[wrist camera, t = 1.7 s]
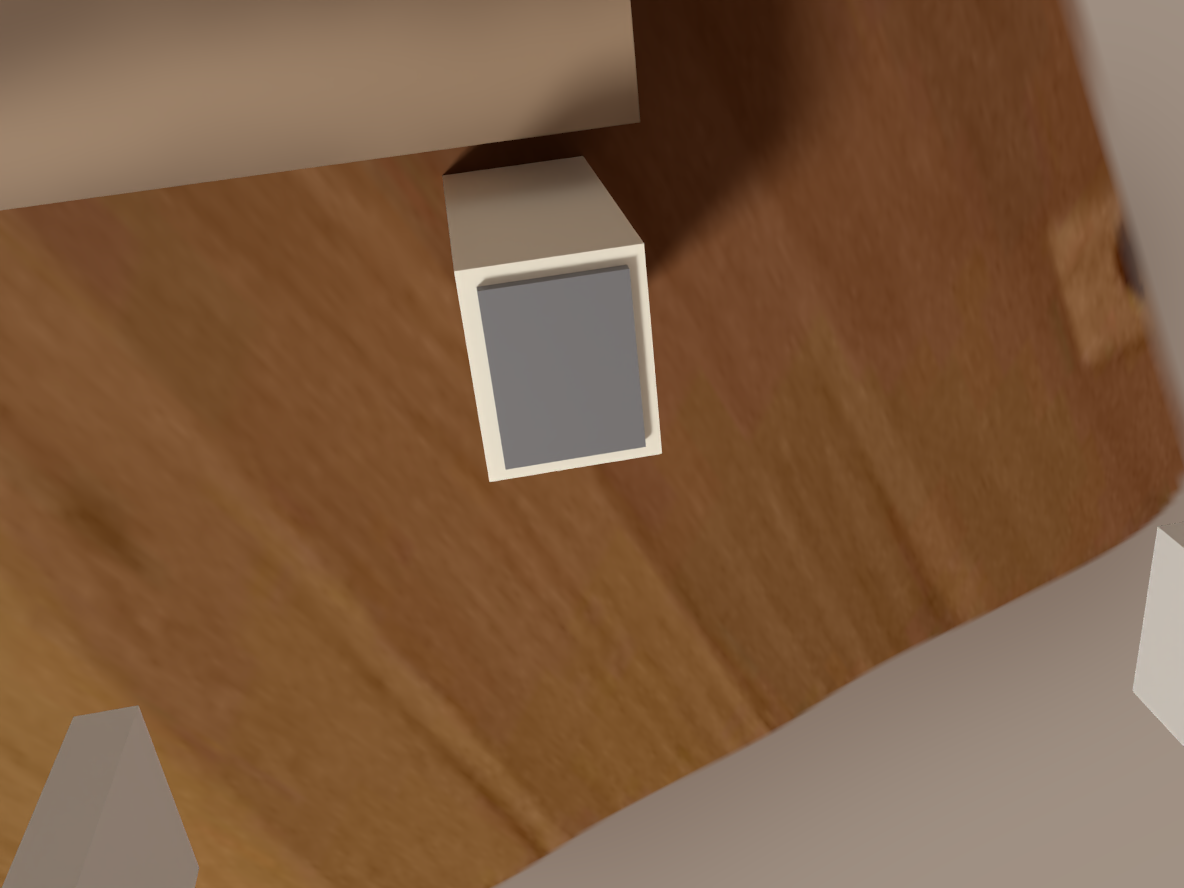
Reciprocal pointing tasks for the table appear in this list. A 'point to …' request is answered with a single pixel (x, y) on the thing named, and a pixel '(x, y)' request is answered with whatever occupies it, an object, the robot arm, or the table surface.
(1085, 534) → the table surface
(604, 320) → the block
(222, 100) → the wooden plank
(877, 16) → the table surface
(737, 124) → the table surface
